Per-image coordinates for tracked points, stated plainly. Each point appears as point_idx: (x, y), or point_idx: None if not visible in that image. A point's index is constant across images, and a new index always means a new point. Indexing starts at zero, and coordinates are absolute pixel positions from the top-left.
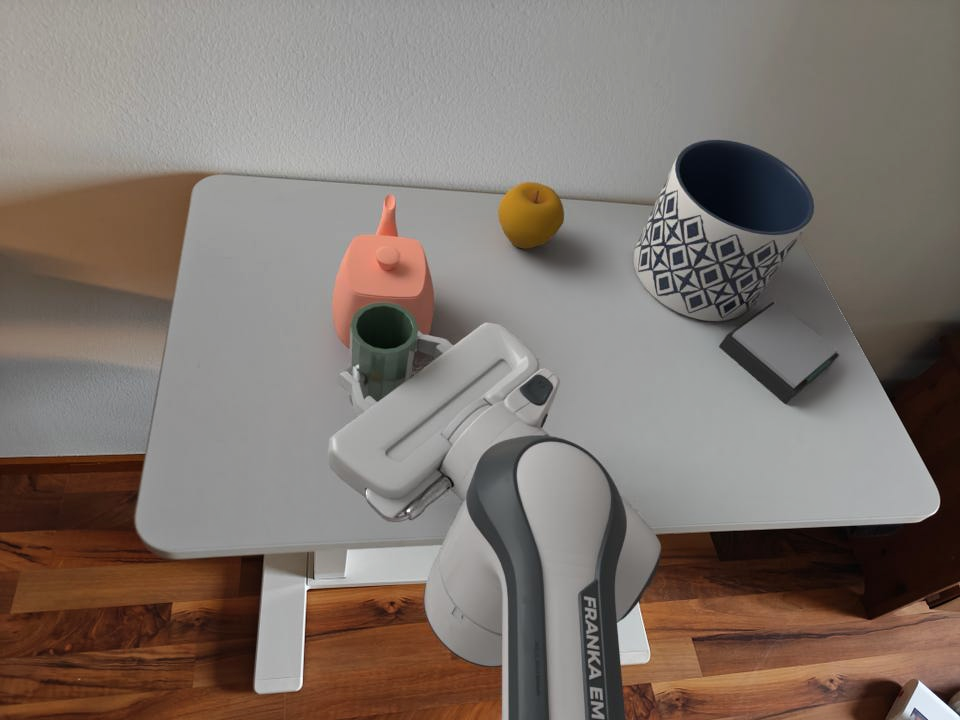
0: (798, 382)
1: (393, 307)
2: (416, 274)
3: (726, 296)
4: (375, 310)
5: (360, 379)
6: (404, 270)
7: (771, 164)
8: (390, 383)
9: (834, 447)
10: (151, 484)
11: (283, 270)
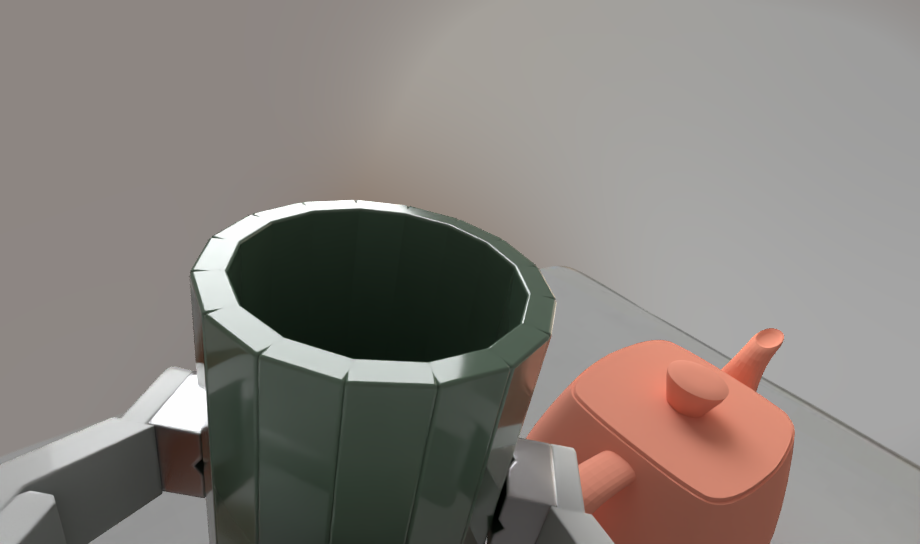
0: None
1: (510, 263)
2: (741, 461)
3: None
4: (451, 250)
5: (170, 427)
6: (717, 436)
7: None
8: None
9: None
10: (62, 437)
11: (543, 369)
